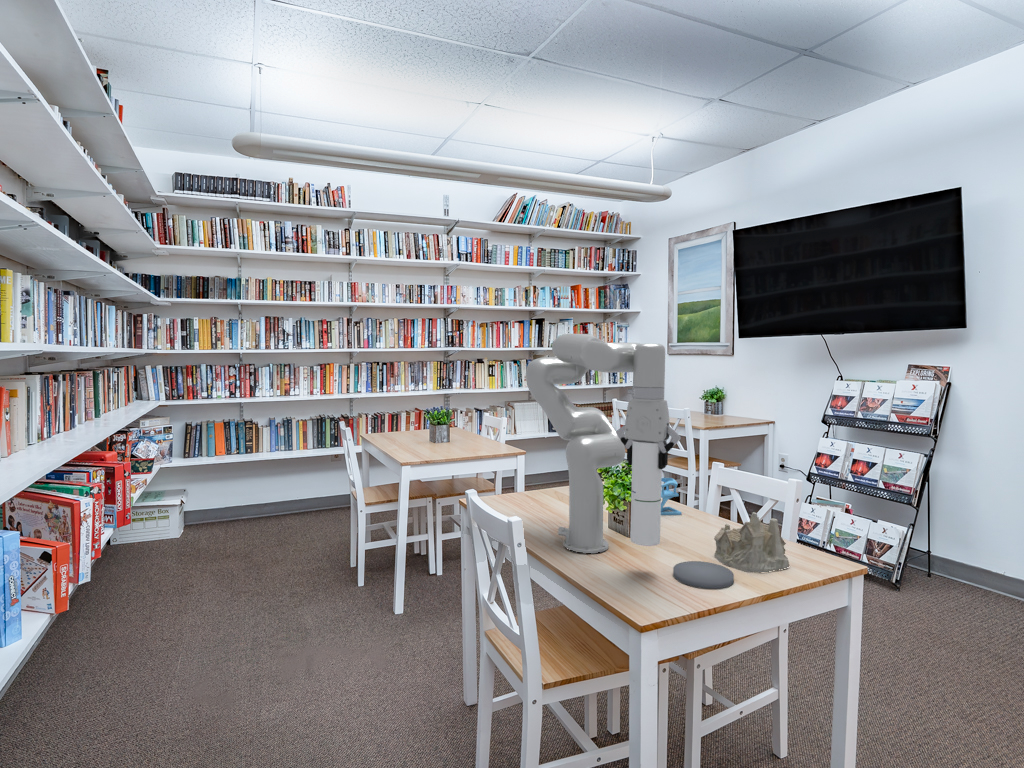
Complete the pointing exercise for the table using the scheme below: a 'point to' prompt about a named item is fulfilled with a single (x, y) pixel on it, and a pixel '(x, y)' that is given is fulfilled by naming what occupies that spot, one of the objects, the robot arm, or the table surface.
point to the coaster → (703, 575)
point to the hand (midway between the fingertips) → (646, 465)
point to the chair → (668, 496)
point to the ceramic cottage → (752, 546)
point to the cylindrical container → (645, 494)
